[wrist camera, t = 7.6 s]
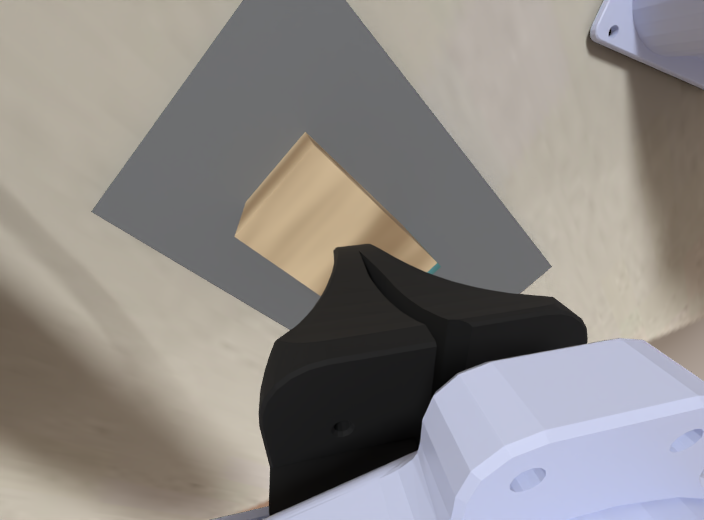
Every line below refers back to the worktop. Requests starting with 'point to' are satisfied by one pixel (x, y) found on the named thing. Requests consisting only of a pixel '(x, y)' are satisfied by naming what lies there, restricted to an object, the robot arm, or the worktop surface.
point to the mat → (330, 133)
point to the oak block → (320, 218)
